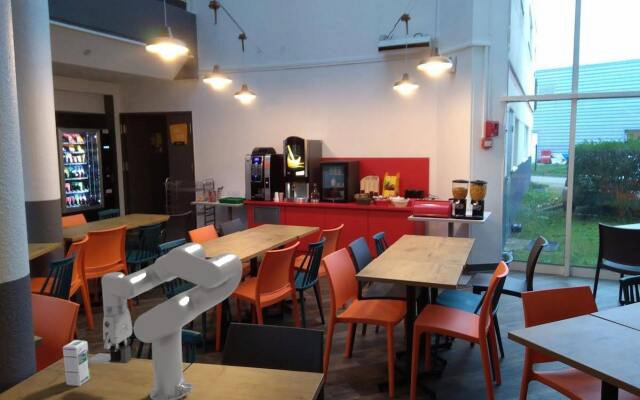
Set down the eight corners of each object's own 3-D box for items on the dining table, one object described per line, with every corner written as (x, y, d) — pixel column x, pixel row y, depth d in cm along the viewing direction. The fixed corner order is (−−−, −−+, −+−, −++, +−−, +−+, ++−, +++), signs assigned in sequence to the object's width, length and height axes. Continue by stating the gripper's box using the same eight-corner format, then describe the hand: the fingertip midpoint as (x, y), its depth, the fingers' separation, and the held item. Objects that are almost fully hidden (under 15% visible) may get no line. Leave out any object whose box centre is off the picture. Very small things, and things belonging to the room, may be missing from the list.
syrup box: (80, 386, 164) (76, 347, 163) (65, 384, 165) (62, 346, 164) (91, 378, 170) (88, 340, 168) (77, 377, 171) (73, 339, 169)
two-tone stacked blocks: (133, 358, 164) (131, 344, 164) (124, 364, 159) (122, 350, 159) (98, 356, 167) (97, 343, 167) (89, 362, 163) (87, 349, 162)
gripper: (109, 317, 152) (113, 371, 154) (139, 301, 168) (142, 349, 170) (89, 316, 153) (93, 369, 156) (121, 300, 169) (124, 348, 171)
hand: (119, 358), depth 163 cm, fingers closed on two-tone stacked blocks, 3 cm apart
